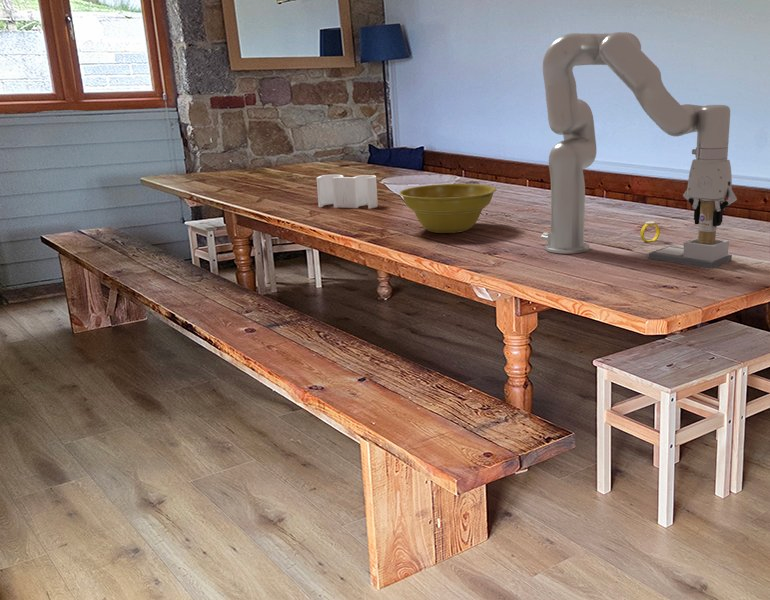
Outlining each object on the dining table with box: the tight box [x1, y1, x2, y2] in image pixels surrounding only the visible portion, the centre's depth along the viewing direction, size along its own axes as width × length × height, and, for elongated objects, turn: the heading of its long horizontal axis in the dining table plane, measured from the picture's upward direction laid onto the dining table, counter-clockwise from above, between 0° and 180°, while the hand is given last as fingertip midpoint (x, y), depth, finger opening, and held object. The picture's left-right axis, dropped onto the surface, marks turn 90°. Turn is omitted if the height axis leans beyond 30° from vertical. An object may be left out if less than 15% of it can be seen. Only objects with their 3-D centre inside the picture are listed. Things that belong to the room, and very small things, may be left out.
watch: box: [639, 220, 661, 243], centre depth 242 cm, size 6×3×6 cm, turn 110°
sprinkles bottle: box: [697, 199, 717, 244], centre depth 214 cm, size 5×5×13 cm
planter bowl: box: [398, 183, 497, 234], centre depth 272 cm, size 32×32×13 cm
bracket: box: [316, 174, 378, 209], centre depth 328 cm, size 25×10×12 cm, turn 65°
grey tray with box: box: [647, 237, 733, 269], centre depth 219 cm, size 18×11×6 cm, turn 42°
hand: (707, 223), depth 214 cm, fingers closed on sprinkles bottle, 4 cm apart
